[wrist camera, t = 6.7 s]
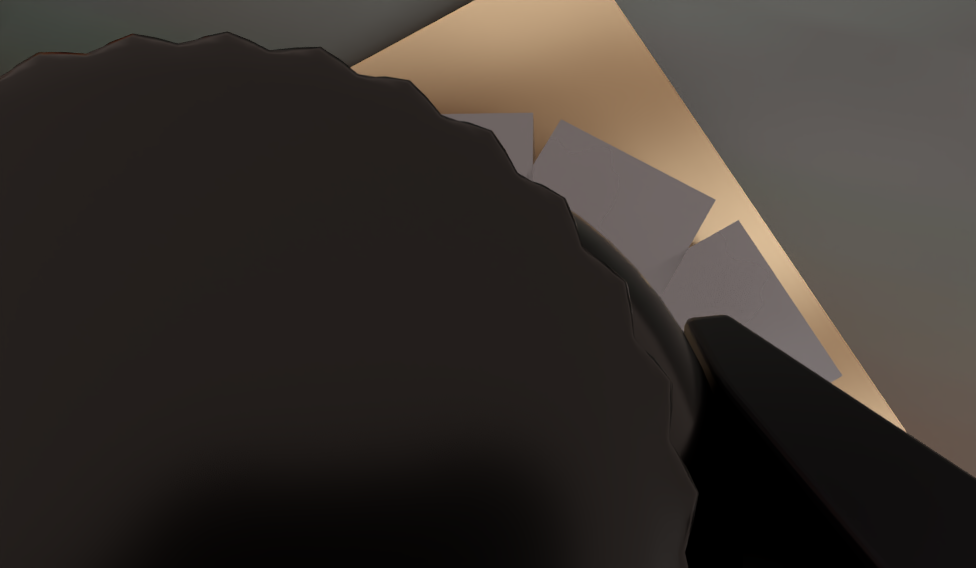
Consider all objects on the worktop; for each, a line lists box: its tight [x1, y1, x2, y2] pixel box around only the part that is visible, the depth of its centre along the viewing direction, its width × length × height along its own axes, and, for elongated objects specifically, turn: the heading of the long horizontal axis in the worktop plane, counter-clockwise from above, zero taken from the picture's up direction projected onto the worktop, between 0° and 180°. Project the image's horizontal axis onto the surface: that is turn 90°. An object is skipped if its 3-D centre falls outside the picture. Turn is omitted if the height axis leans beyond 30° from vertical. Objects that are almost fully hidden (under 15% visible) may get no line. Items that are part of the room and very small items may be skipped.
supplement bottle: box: [0, 32, 743, 568], centre depth 9 cm, size 7×7×12 cm
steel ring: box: [441, 113, 843, 383], centre depth 15 cm, size 14×14×2 cm
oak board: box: [351, 0, 907, 433], centre depth 17 cm, size 18×14×1 cm
